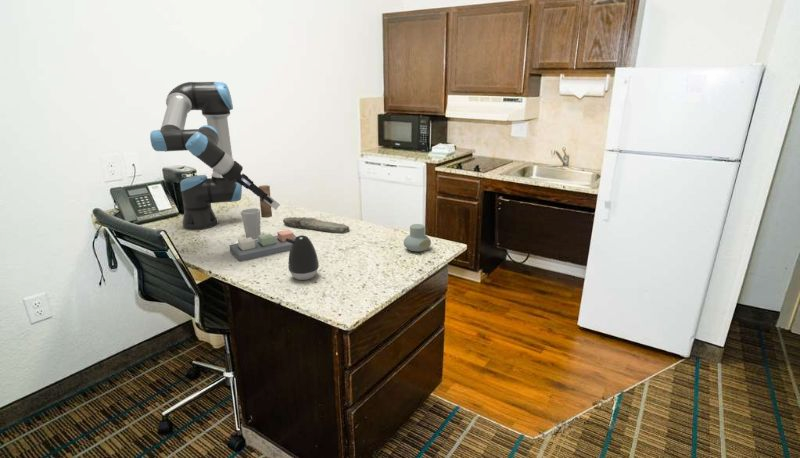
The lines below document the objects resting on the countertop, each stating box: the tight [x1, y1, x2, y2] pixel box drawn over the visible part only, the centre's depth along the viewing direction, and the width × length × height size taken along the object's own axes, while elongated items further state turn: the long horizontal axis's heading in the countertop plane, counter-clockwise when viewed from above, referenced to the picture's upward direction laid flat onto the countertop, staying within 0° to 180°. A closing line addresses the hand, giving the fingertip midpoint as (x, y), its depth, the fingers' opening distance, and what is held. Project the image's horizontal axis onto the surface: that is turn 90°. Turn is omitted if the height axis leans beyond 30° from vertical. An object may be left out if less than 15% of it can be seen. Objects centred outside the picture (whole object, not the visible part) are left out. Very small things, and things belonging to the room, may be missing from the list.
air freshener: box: [403, 223, 432, 253], centre depth 172 cm, size 11×8×10 cm
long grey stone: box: [282, 216, 350, 234], centre depth 201 cm, size 35×5×10 cm
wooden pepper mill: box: [258, 184, 273, 219], centre depth 168 cm, size 4×4×12 cm
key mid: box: [258, 233, 275, 246], centre depth 173 cm, size 5×5×3 cm
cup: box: [240, 207, 262, 240], centre depth 187 cm, size 8×8×12 cm
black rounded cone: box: [286, 234, 320, 281], centre depth 147 cm, size 10×10×15 cm
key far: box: [276, 229, 295, 242], centre depth 178 cm, size 5×5×3 cm
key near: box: [237, 237, 255, 251], centre depth 169 cm, size 5×5×3 cm
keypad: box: [228, 234, 298, 262], centre depth 174 cm, size 14×26×2 cm, turn 126°
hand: (275, 205), depth 171 cm, fingers closed on wooden pepper mill, 4 cm apart
